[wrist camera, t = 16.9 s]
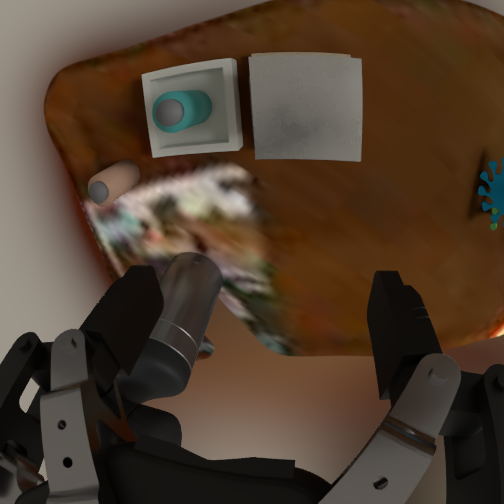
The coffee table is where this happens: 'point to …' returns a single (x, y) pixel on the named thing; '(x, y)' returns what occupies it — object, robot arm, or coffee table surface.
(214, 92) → the tray
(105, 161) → the coffee table surface
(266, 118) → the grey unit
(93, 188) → the beige cylinder
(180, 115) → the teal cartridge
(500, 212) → the gear
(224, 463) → the robot arm
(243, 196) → the coffee table surface
